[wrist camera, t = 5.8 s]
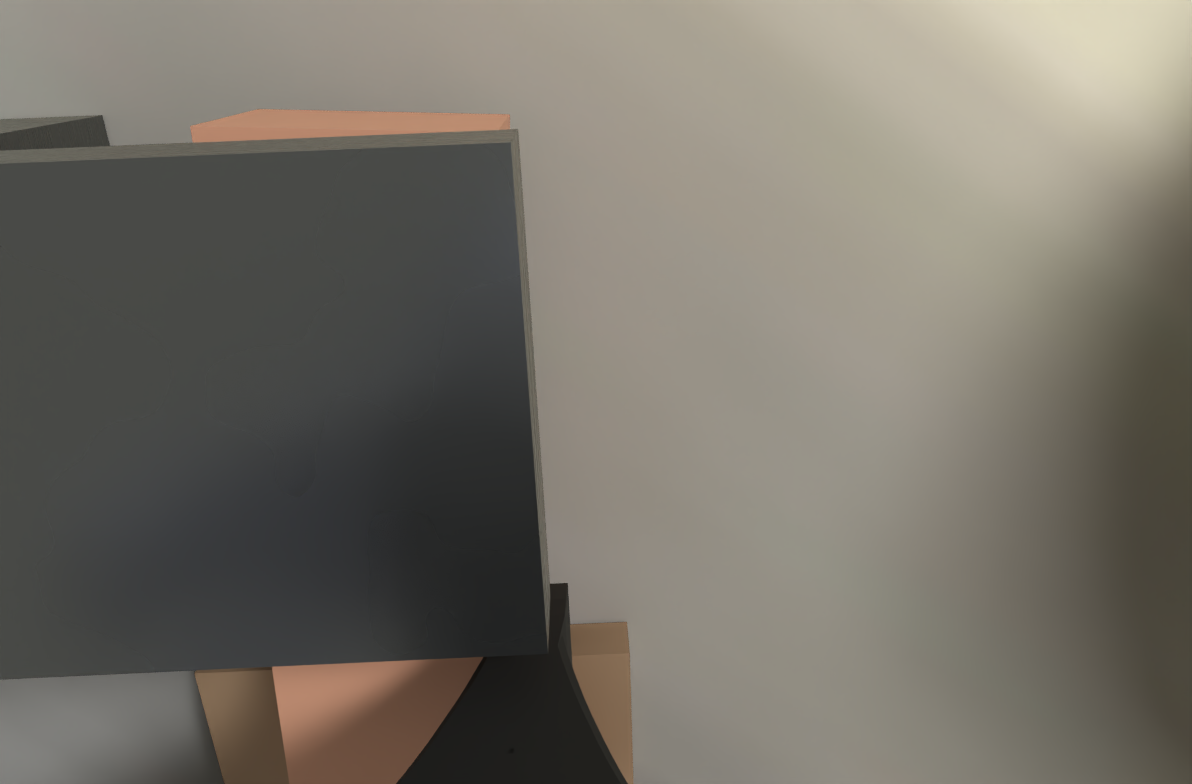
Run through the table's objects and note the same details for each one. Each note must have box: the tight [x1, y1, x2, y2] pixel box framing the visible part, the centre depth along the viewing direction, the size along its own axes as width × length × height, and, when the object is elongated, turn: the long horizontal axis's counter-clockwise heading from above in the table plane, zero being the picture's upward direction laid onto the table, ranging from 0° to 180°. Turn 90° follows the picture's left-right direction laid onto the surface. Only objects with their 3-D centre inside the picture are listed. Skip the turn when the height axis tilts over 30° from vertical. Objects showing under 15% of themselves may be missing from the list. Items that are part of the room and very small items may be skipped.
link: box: [190, 109, 510, 784], centre depth 12 cm, size 14×4×3 cm, turn 179°
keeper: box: [0, 115, 550, 679], centre depth 10 cm, size 8×5×5 cm, turn 92°
